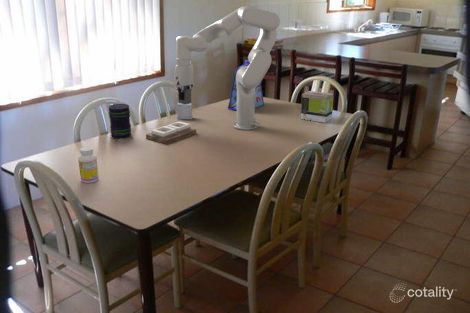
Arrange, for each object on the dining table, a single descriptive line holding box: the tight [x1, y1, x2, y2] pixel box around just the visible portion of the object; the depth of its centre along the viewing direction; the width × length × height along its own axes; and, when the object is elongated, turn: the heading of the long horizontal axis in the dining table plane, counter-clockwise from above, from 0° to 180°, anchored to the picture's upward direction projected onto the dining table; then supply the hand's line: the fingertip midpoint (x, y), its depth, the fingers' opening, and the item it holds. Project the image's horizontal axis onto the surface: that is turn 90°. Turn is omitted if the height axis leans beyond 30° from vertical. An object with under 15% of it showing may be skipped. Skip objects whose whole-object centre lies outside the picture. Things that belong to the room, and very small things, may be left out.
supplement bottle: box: [77, 146, 100, 184], centre depth 172 cm, size 7×7×13 cm
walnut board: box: [145, 127, 197, 145], centre depth 224 cm, size 14×21×2 cm, turn 143°
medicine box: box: [176, 102, 193, 120], centre depth 252 cm, size 8×4×9 cm, turn 84°
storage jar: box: [108, 103, 132, 140], centre depth 222 cm, size 10×10×15 cm
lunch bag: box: [227, 59, 265, 111], centre depth 272 cm, size 22×14×29 cm, turn 147°
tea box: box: [300, 90, 334, 124], centre depth 251 cm, size 15×10×15 cm, turn 58°
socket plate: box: [151, 120, 191, 138], centre depth 224 cm, size 10×19×2 cm, turn 143°
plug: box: [177, 86, 192, 105], centre depth 226 cm, size 5×4×8 cm
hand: (184, 98), depth 227 cm, fingers closed on plug, 4 cm apart
